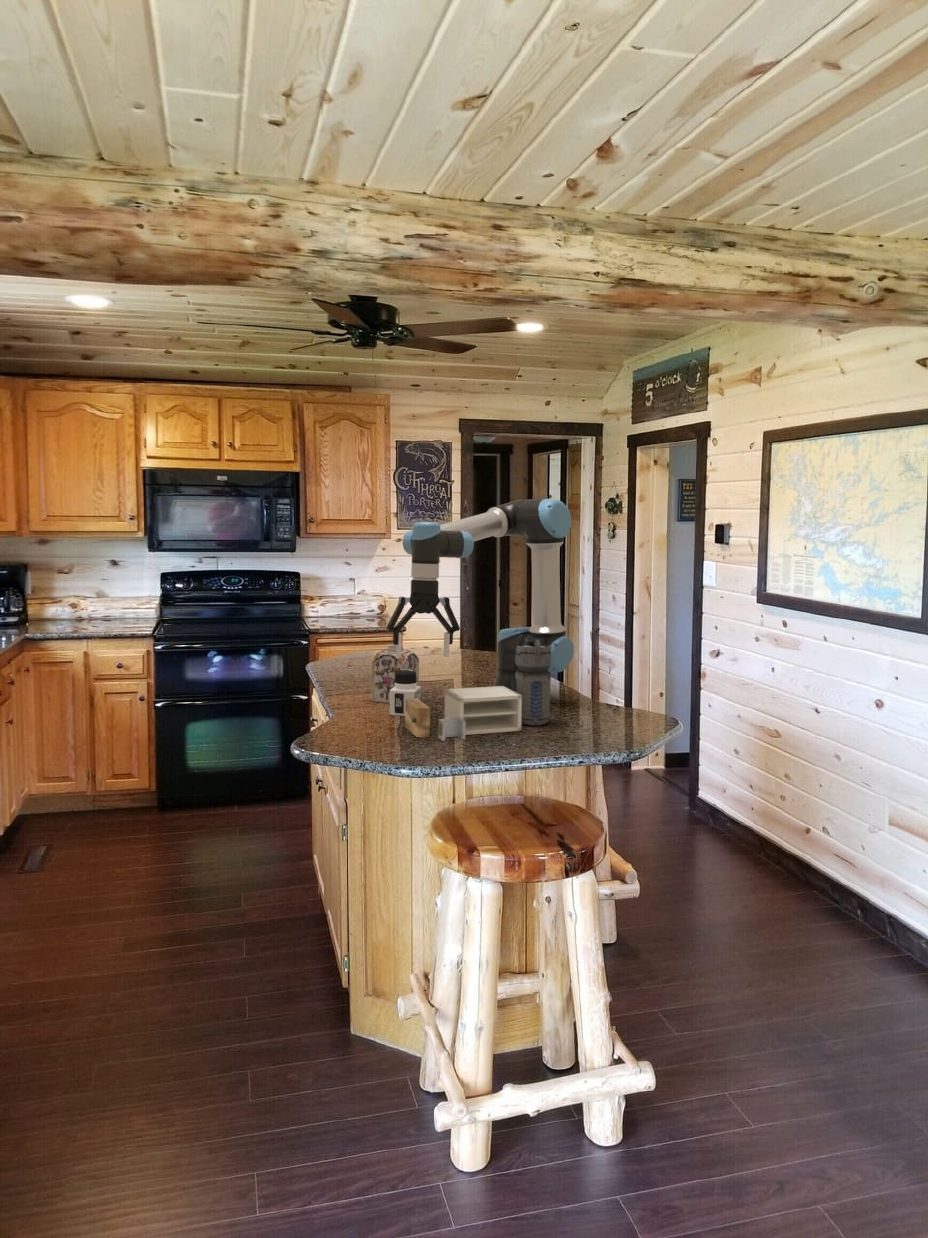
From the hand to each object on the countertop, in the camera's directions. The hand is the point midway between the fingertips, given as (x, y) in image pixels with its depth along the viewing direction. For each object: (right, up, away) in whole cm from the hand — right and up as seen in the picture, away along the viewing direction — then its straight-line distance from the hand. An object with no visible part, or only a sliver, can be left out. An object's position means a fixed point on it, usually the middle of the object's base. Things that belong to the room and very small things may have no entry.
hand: (422, 656), depth 236 cm
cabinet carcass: (+16, -20, +6) cm, 27 cm away
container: (-6, -18, +23) cm, 30 cm away
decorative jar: (-11, -16, +41) cm, 45 cm away
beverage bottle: (+31, -20, +13) cm, 39 cm away
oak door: (-1, -21, 0) cm, 21 cm away
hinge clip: (+8, -21, -7) cm, 24 cm away
